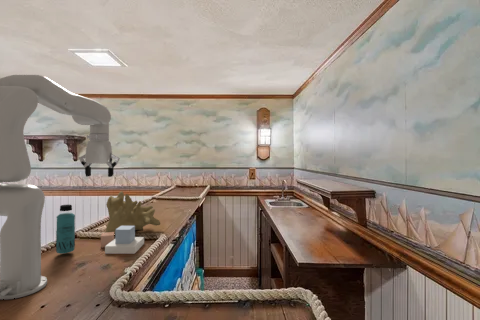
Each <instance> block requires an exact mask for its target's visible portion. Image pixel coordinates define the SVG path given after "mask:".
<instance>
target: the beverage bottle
mask: <svg viewBox="0 0 480 320" xmlns="http://www.w3.org/2000/svg"><path fill="white" fill-rule="evenodd" d="M72 210H73V205H72V204H62V205H60V206H59V212H60V213H59V214H58V215H57V216H56V230H55V232H56V233H55V235H56V236H55V251H56V253H57V254H63V255H64V254H68V253H71V252H73V251H75V248H76V241H75V240H76V239H75V237H76V223H75V221H76V220H75V219H76V215H75V214H74V213H73V212H72ZM70 211H71V212H70Z"/></svg>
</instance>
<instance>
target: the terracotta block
mask: <svg viewBox="0 0 480 320" xmlns="http://www.w3.org/2000/svg"><path fill="white" fill-rule="evenodd" d="M114 239H115V236H114V232H107V233H106V232H102V233H101V235H100V248H105V246H106V245H107V244H109V243H110V242H111V241H113V240H114Z"/></svg>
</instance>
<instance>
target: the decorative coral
mask: <svg viewBox="0 0 480 320" xmlns="http://www.w3.org/2000/svg"><path fill="white" fill-rule="evenodd" d="M124 200H125V201H124ZM106 207H107V212H108V218H109V220H108V222H107V225H106V228H105V233H107V232H114V234H115V230H116V229H117V228H118V227H120V226H135V231H142V230H144V227H145V226H147V225H153V226H160V225H161V221H160V219H157V218H156V217H154V214H155V212H156V209H155V208H153V205H148V206H142V201H140V200H139V201H138V200H135V201H133V200H132V198H131V197H130V195H129V194H127V193H126V194H124V191H122V190H121V191H120V192H118V194H117V195H116V197H113V195H109V197H108V198H107V202H106Z"/></svg>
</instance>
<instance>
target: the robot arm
mask: <svg viewBox="0 0 480 320" xmlns="http://www.w3.org/2000/svg"><path fill="white" fill-rule="evenodd" d="M38 104H40V105H42V106H45V107H46V108H48V109H51V110H52V111H55V112H56V113H58V114H61V115H67V116H71V117H72V120H73V121H74V122H75V123H76V124H77V125H80V126H89V133H88V135H86V138H87V139H89V140H88V141H87V143H86V148H85V153H84V154H83V155H81V156H79V157H78V159H79V161H80V164H81V165H82V166H83V167H84V173H85V177H91V176H92V167H91V166H92V164H99V165H100V164H103V165H104V164H106V165H107V166H108V168H107V177H108V178H111V177H113V176H114V168H115V167H116V166H117V165H118V164H119V161H120V157H118V156H117V155H114V154H113V148H112V144H111V141H110V122H111V119H112V118H111V117H112V115H111V111H110V110H109V109H108V108H107V107H106V106H105V105H104V104H103V103H101V102H98V101H97V100H94V99H92V98H88V97H86V96H83V95H79V94H76V93H73V92H71V91H69V90H67V89H66V88H64V87H63V86H61V85H60V84H58V83H56V82H55V81H53V80H51V79H50V78H48V77H47V76H44V75H41V74H12V75H7V76H4V77H0V217H2V216H3V217H6V220H5V222H4V223H3V225H2V227H1V229H0V300H3V299H4V300H14V298H15V299H19V298H22V297H26V296H29V295H32V294H34V293H36V292H37V293H38V292H39V291H40V290H42V289H44V288H45V287H46V286H47V284H48V279H47V277H46V276H43V275H42V227H41V226H42V218H43V217H42V215H43V212H44V211H43V210H44V207H45V206H44V205H45V201H46V200H45V199H46V196H45V193H44V191H43V190H42V189H41V188H40V187H38V186H36V185H34V184H26V183H15V182H21V181H24V180H26V179H27V178H28V177H29V176H30V175H31V171H32V165H31V161H30V157H29V152H28V149H27V145H26V141H25V140H26V139H25V135H24V130H25V126H26V123H27V122H28V120H29V119H30V117H31V115H32V114H34V112H35V111H36V109H37V107H38ZM113 160H114V161H113Z"/></svg>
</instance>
